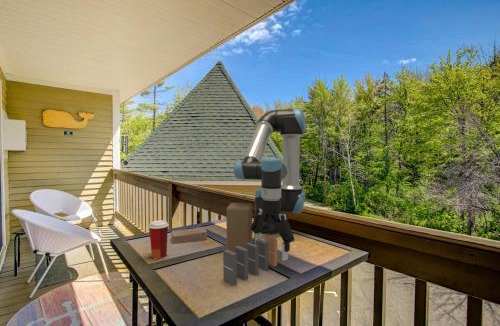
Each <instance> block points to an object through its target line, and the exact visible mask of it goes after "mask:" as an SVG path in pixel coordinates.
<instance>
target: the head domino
mask: <svg viewBox="0 0 500 326" xmlns="http://www.w3.org/2000/svg"><path fill="white" fill-rule="evenodd" d="M264 241H266V242H268V266H271V267H274V268H275V267H277V266H278V239H277V238H275V237H271V236H264Z"/></svg>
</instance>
